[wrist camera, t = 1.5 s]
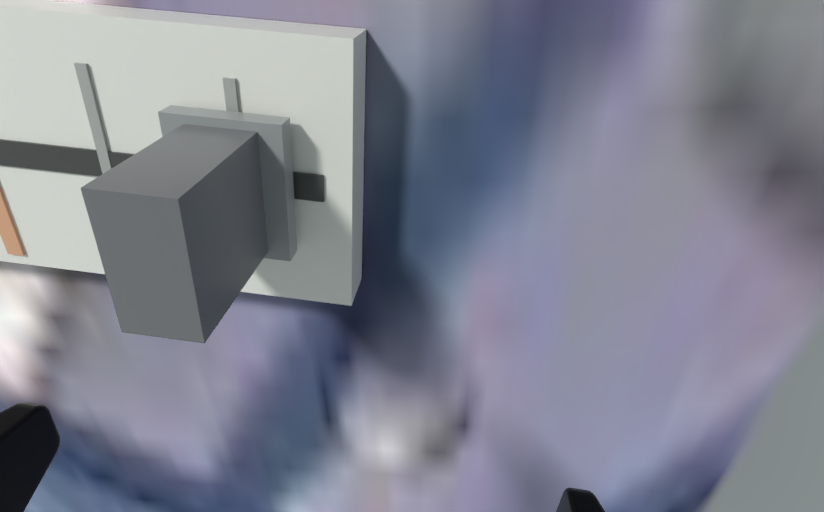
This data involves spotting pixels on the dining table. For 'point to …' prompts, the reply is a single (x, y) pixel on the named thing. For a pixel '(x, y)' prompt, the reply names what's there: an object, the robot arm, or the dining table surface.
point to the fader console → (140, 127)
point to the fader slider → (193, 218)
